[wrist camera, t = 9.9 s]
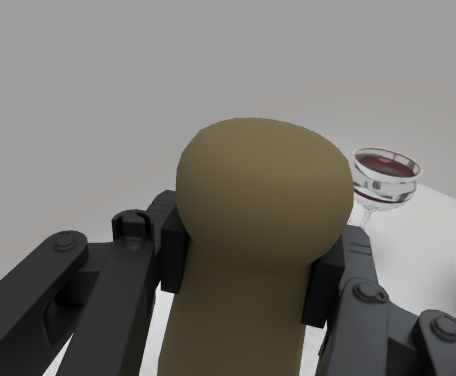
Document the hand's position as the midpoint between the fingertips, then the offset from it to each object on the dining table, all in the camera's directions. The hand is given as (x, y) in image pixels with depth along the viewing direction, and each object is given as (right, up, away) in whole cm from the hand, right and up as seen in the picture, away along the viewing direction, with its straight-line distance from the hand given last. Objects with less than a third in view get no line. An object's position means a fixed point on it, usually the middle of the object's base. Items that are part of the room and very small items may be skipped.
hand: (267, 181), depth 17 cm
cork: (-2, -8, -1) cm, 9 cm away
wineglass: (+13, -8, +25) cm, 29 cm away
